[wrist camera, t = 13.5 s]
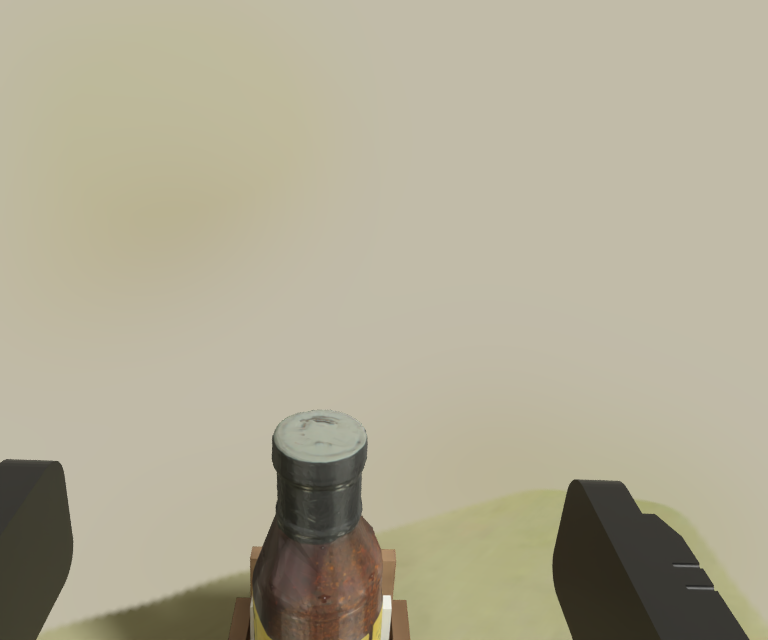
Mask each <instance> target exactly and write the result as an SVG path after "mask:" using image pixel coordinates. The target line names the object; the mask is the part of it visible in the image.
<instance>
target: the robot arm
mask: <svg viewBox="0 0 768 640" xmlns="http://www.w3.org/2000/svg"><path fill="white" fill-rule="evenodd" d="M72 554H73V536H72V529H71V521H70V514H69V506H68V498H67V491H66V483H65V476H64V471H63V468H62V465H61V464H60V463H59V462H58V461H41V460H12V459H6V460H3V461H2V462H1V463H0V640H36V639H37V637H38V635H39V633H40V631H41V629H42V627H43V625H44V623H45V621H46V619H47V617H48V615H49V613H50V611H51V609H52V607H53V605H54V603H55V601H56V600H57V598H58V596H59V594H60V592H61V590H62V588H63V586H64V584H65V582H66V579H67V577H68V574H69V570H70V566H71V561H72ZM552 566H553V581H554V587H555V591H556V594H557V597H558V600H559V603H560V605H561V608H562V611H563V614H564V616H565V619H566V622H567V624H568V627H569V630H570V633H571V635H572V638H573V640H749V638H748V637H747V635H746V634H745V632H744V631H743V629H742V628H741V626H740V625H739V623H738V622H737V620H736V618H735V617H734V615H733V614H732V612H731V611H730V609H729V608H728V606H727V605H726V603H725V602H724V600H723V599H722V597H721V596H720V594H719V592H718V591H714V585H713V583H712V582H711V580H710V579H709V577H708V576H707V574H706V573H705V571H704V570H703V569H700V567H699V562H698V560H697V559H696V557H695V556H694V554H693V553H692V551H691V550H690V548H689V547H688V545H687V544H686V542H685V541H684V539H683V537H682V536H680V535H679V534H678V533H677V532H676V531H674V530H673V529H672V528H671V527H670V526H668V525H667V524H666V523H665V522H664V521H663V520H661V519H660V518H659V517H658V516H657V515H655V514H642V513H641V511H640V509H639V508H638V506H637V504H636V503H635V501H634V499H633V498H632V496H631V495H630V493H629V491H628V489H627V488H626V486H625V485H624V484H623V483H622V482H620V481H605V480H573V481H572V482H571V483H570V485H569V487H568V490H567V494H566V499H565V503H564V508H563V512H562V517H561V521H560V526H559V530H558V535H557V539H556V544H555V548H554V553H553V565H552Z"/></svg>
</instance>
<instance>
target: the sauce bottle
mask: <svg viewBox="0 0 768 640" xmlns="http://www.w3.org/2000/svg"><path fill="white" fill-rule="evenodd" d="M366 459H367V434H366V430H365V429H364V427H363V426H362V424H361V423H360V422H359V421H358V420H357V419H355V418H353V417H352V416H350V415H348V414H345V413H341V412H337V411H332V410H313V411H308V412H302V413H297V414H295V415H292V416H289V417H287V418H285V419H284V420H283V421H282V422H281V423H279V425H278V426H277V428H276V430H275V432H274V435H273V437H272V462H273V466H274V468H275V470H276V471H277V490H278V495H277V496H278V500H277V504H276V515H275V517H274V520H273V522H272V524H271V527H270V529H269V532H268V534H267V537H266V539H265V542H264V544H263V547H262V549H261V551H260V554H259V556H258V559H257V561H256V564H255V567H254V571H253V577H252V597H253V614H254V640H381V627H382V610H383V592H382V577H383V576H382V573H383V559H382V552H381V548H380V546H379V543H378V541H377V539H376V536H375V533H374V531H373V527H371V526H370V525H369V523H368V522H367V521H366V520H365V519H364V518H363V516H361V513H362V501H361V480H362V476H361V474H362V471H363V469H364V465H365V462H366Z"/></svg>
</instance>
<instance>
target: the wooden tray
mask: <svg viewBox="0 0 768 640" xmlns="http://www.w3.org/2000/svg"><path fill="white" fill-rule="evenodd" d="M261 549H262V547H252V552H251V557H250V578H251V598H236V603H235V608H234V613H233V618H232V623H231V628H230V633H229V638H228V640H250V605H251V599H252V577H253V571H254V567H255V564H256V561H257V559H258V556H259V554H260V551H261ZM381 552H382V559H383V573H382V576H383V577H382V592H383V595H391V606H392V612H391V622H390V633H389V640H410V633H409V622H408V612H407V602H406V600H393V589H394V579H395V568H396V554H395V549H381Z"/></svg>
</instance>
